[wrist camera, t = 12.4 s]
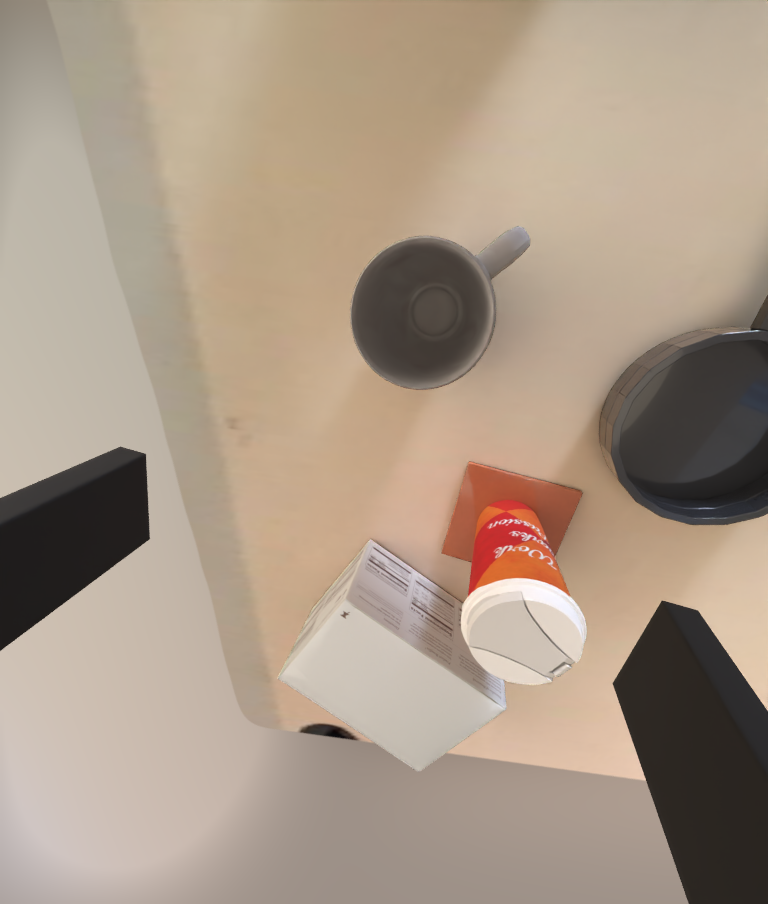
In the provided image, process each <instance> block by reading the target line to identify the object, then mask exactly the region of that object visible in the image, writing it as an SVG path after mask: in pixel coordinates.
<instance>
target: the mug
mask: <svg viewBox="0 0 768 904" xmlns="http://www.w3.org/2000/svg"><path fill="white" fill-rule="evenodd" d="M529 246H530V237H529V235H528V233H527V232H526V231H525V229H524V228H522V227H519V226H517V227H514V228H512V229H510V230H508V231H506V232H505V233H503V234H502V235H500V236H499V237H498V238H497V239H496V240H494V241H493V242H492V243H491V244H490V245H488V246H487V247H486V248H485V249H484V250H482V251H481V252H480V253H479V254H478V255H476V256H474V255H473V254H471V253H470V252H469V251H468V250H466V249H465V248H463V247H462V246H460V245H458V244H457V243H455V242H452V241H450V240H447V239H443V238H440V237H434V236H415V237H410V238H406V239H402V240H400V241H397V242H395V243H393V244H391V245H389V246H387V247H386V248H384V249H383V250H382V251H380V252H379V253H378V254H377V255H376V256H375V257H374V258H373V259H372V260H371V261H370V262H369V263H368V264H367V266H366V267H365V268H364V270H363V271H362V273H361V275H360V277H359V279H358V281H357V283H356V286H355V288H354V292H353V295H352V300H351V307H350V323H351V329H352V334H353V338H354V341H355V344H356V346H357V348H358V350H359V352H360V354H361V356H362V357H363V359H364V360H365V362H366V363H367V364H368V365H369V366H370V367H371V368H372V369H373V370H374V371H375V372H376V373H377V374H378V375H379V376H381V377H382V378H384V379H385V380H387V381H389V382H391V383H393V384H395V385H398V386H401V387H404V388H409V389H416V390H426V389H434V388H438V387H442V386H445V385H447V384H450V383H452V382H454V381H456V380H458V379H459V378H461V377H462V376H464V375H465V374H466V373H467V372H469V371H470V370H471V369H472V368H473V367H474V366H475V364H476V363H477V362H478V361H479V360H480V358H481V357H482V356H483V354H484V352H485V351H486V349H487V347H488V345H489V343H490V340H491V338H492V335H493V331H494V327H495V321H496V300H495V294H494V290H493V286H492V284H491V279H492V278H494V277H495V276H496V275H497V274H499V273H500V272H501V271H502V270H504V269H505V268H507V267H508V266H509V265H510V264H512V263H513V262H514V261H515V260H516V259H517V258H519V257H520V256H521V255H522V254H523V253H524V252H525V251H526V249H527V248H528V247H529Z"/></svg>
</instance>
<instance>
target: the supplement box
mask: <svg viewBox="0 0 768 904" xmlns="http://www.w3.org/2000/svg"><path fill="white" fill-rule="evenodd" d="M462 605H463V603H461V602H460V601H458V600H457V599H456V598H454V597H453V596H451V595H450V594H448V593H447V592H446V591H444V590H443V589H441V588H440V587H438V586H437V585H435V584H434V583H433V582H431V581H430V580H428V579H427V578H425V577H424V576H423V575H421V574H420V573H418V572H417V571H415V570H414V569H413V568H411V567H410V566H408V565H407V564H405V563H404V562H403V561H401V560H400V559H398V558H397V557H395V556H394V555H393V554H391V553H390V552H388V551H387V550H385V549H384V548H382V547H381V546H380V545H378V544H377V543H376V542H374V541H373V540H371V539H370V540H369V541H368V542H367V543H366V545H365V546H364V547H363V548H362V550H361V551H360V552H359V553H358V554H357V556H356V557H355V558H354V559H353V560H352V562H351V563H350V564H349V565H348V566H347V568H346V569H345V570H344V571H343V572H342V573H341V575H340V576H339V577H338V578H337V579H336V581H335V582H334V583H333V584H332V586H331V587H330V588H329V589H328V590H327V592H326V593H325V594H324V595H323V596H322V598H321V599H320V600H319V601H318V602H317V604H316V605H315V606H314V607H313V608H312V610H311V612H310V614H309V616H308V618H307V620H306V622H305V624H304V626H303V628H302V630H301V632H300V634H299V636H298V638H297V640H296V642H295V644H294V646H293V648H292V650H291V652H290V654H289V656H288V658H287V660H286V662H285V664H284V666H283V668H282V670H281V672H280V674H279V676H278V679H279V680H281V681H282V682H284V683H285V684H287V685H288V686H290V687H291V688H293V689H295V690H296V691H298V692H299V693H301V694H302V695H304V696H305V697H307V698H308V699H310V700H311V701H313V702H314V703H316V704H317V705H319V706H320V707H322V708H323V709H325V710H326V711H328V712H329V713H331V714H332V715H334V716H335V717H337V718H338V719H340V720H341V721H343V722H344V723H346V724H347V725H349V726H350V727H352V728H353V729H355V730H356V731H358V732H359V733H361V734H362V735H364V736H365V737H367V738H368V739H370V740H371V741H373V742H374V743H376V744H377V745H379V746H380V747H382V748H384V749H385V750H386V751H388V752H389V753H391V754H392V755H394V756H395V757H397V758H398V759H400V760H401V761H402V762H404V763H405V764H407V765H408V766H410V767H411V768H413V769H414V770H416V771H417V772H420V771H421V770H423V769H424V768H426V767H427V766H428V765H430V764H431V763H432V762H434V761H435V760H437V759H438V758H440V757H441V756H442V755H444V754H445V753H446V752H448V751H449V750H450V749H452V748H453V747H455V746H456V745H457V744H459V743H460V742H462V741H463V740H464V739H466V738H467V737H469V736H470V735H471V734H473V733H474V732H476V731H477V730H478V729H480V728H481V727H483V726H484V725H485V724H487V723H488V722H489V721H491V720H492V719H494V718H495V717H496V716H498V715H499V714H500V713H502V712H503V711H505V710H506V697H505V685H504V680H502V679H500V678H498V677H496V676H494V675H492V674H491V673H489V672H488V671H486V670H485V669H484V668H483V667H482V666H481V665H480V664H479V663H478V662H477V661H476V659H475V658H474V657H473V655H472V653H471V651H470V649H469V646H468V645H467V643H466V641H465V639H464V637H463V634H462V630H461V614H462Z"/></svg>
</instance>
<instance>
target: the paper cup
mask: <svg viewBox="0 0 768 904" xmlns="http://www.w3.org/2000/svg"><path fill="white" fill-rule="evenodd" d="M461 630H462V634H463V637H464V639H465V641H466V643H467V645H468V646H469V649H470V651H471V653H472V655H473V657H474V658H475V659H476V661H477V662H478V663H479V664H480V665H481V666H482V667H483V668H484V669H485V670H486V671H488V672H489V673H491V674H492V675H494V676H496V677H498V678H500V679H502V680H505V681H508V682H512V683H517V684H524V685H538V684H545V683H549V682H552V681H553V678H554V677H555V676H557V677H559V676H561V675H562V674H564V673H565V672H566V671H568V670H569V669H571V668H572V666H571V665H572V664H573V663H574V662H576V663H578V661H579V659H580V658H581V655H582V651H583V646H584V643H585V640H586V634H587V627H586V621H585V618H584V615H583V613H582V611H581V609H580V608H579V606H578V605H577V604H576V602H575V601H574V600H573V599H572V598H571V597H570V594H569V592H568V589H567V587H566V584H565V582H564V579H563V577H562V574H561V572H560V569H559V567H558V564H557V562H556V559H555V557H554V555H553V552H552V550H551V547H550V545H549V542H548V540H547V537H546V535H545V533H544V530H543V528H542V526H541V523H540V521H539V519H538V517H537V516H536V514H535V513H534V511H533V510H532V509H531V508H530V507H528V506H527V505H525V504H523V503H521V502H518V501H514V500H501V501H497V502H494V503H492V504H490V505H489V506H487V507H486V508H485V509H484V510H483V511H482V513H481V514H480V516H479V519H478V522H477V527H476V533H475V541H474V549H473V558H472V566H471V575H470V584H469V593H468V597H467V599H466V600H465V602H464V603H463V605H462V614H461Z"/></svg>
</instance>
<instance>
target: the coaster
mask: <svg viewBox="0 0 768 904" xmlns="http://www.w3.org/2000/svg"><path fill="white" fill-rule="evenodd" d="M582 494H583V493H582V491H580V490H576V489H572V488H569V487H565V486H561V485H557V484H553V483H549V482H546V481H542V480H538V479H534V478H530V477H526V476H523V475H519V474H515V473H511V472H507V471H504V470H500V469H496V468H492V467H488V466H484V465H481V464H477V463H473V462H469V463H468V466H467V469H466V472H465V476H464V479H463V482H462V486H461V489H460V492H459V495H458V499H457V502H456V505H455V509H454V512H453V515H452V518H451V522H450V525H449V528H448V532H447V535H446V538H445V542H444V545H443V548H442V552H441V553H442V554H445V555H449V556H452V557H456V558H459V559H463V560H466V561H469V562H472V558H473V549H474V541H475V533H476V527H477V522H478V519H479V516H480V514H481V513H482V511H483V510H484V509H485V508H486V507H487V506H489V505H490V504H492V503H494V502H497V501H501V500H514V501H518V502H521V503H523V504H525V505H527V506H528V507H530V508H531V509H532V510H533V511H534V513H535V514H536V516H537V517H538V519H539V521H540V523H541V526H542V528H543V530H544V533H545V535H546V537H547V540H548V542H549V545H550V547H551V550H552V552H553V555H554V557H555V555H556V553H557V550H558V548H559V546H560V544H561V541H562V539H563V537H564V535H565V532H566V530H567V528H568V525H569V523H570V521H571V519H572V516H573V514H574V512H575V510H576V507H577V505H578V503H579V500H580V498H581V496H582Z"/></svg>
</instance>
